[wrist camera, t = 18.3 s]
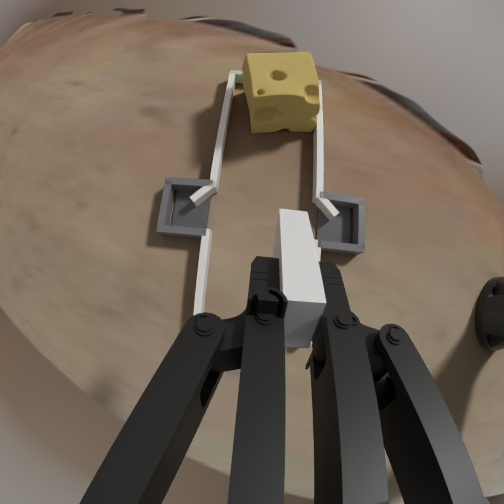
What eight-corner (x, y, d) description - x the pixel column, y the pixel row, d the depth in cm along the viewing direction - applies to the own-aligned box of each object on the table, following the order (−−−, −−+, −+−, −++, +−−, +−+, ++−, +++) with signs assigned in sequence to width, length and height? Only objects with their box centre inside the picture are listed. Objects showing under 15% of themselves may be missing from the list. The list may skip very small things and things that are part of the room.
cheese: (312, 133, 42) (328, 97, 32) (247, 136, 41) (248, 98, 31) (301, 88, 43) (311, 50, 33) (242, 89, 43) (241, 50, 33)
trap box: (351, 95, 43) (355, 88, 41) (350, 341, 37) (356, 344, 35) (196, 78, 43) (194, 69, 40) (151, 323, 37) (146, 326, 35)
